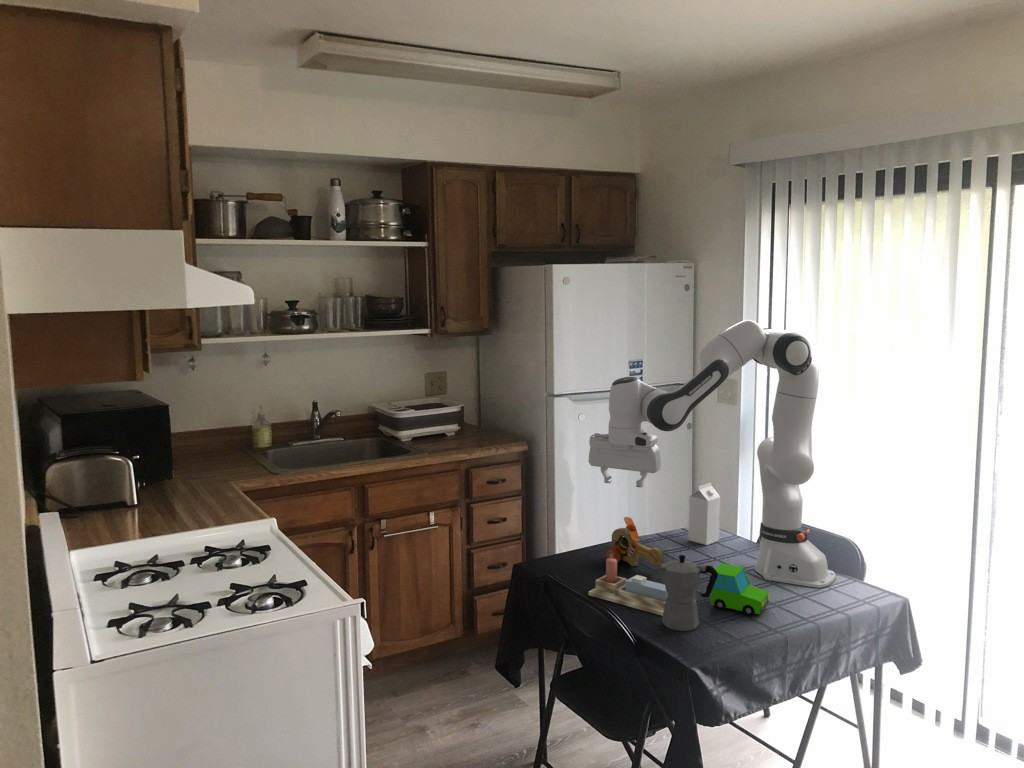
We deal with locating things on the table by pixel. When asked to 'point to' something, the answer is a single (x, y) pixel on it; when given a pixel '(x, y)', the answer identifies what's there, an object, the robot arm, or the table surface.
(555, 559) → the table surface
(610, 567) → the tail peg
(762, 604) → the toy car
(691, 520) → the milk carton
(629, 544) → the toy helicopter
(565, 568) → the table surface
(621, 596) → the jig
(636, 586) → the blue slab with cube
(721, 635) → the table surface
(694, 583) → the coffeepot
